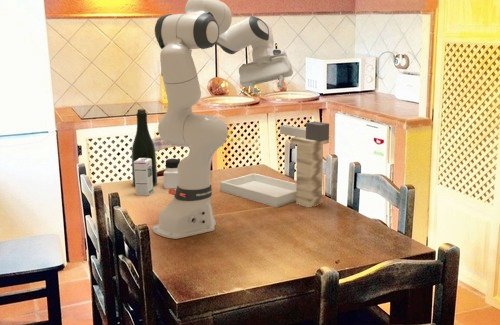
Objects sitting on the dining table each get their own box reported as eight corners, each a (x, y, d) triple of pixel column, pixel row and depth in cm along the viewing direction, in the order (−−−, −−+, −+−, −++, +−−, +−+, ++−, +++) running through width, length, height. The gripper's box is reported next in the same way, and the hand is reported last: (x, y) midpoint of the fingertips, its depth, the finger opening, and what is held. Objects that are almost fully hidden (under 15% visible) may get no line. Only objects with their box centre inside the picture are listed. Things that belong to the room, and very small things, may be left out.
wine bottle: (158, 186, 260) (155, 110, 253) (134, 188, 258) (129, 111, 250) (155, 180, 270) (152, 107, 263) (132, 182, 268) (127, 108, 260)
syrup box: (148, 195, 248) (147, 161, 244) (135, 195, 249) (133, 160, 245) (153, 192, 253) (152, 158, 250) (140, 191, 254) (138, 157, 251)
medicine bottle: (180, 188, 258) (179, 161, 255) (164, 188, 258) (162, 161, 255) (183, 184, 265) (182, 157, 262) (166, 184, 265) (165, 157, 262)
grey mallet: (320, 141, 222) (320, 125, 221) (278, 134, 237) (278, 118, 236) (328, 139, 226) (329, 123, 224) (286, 132, 240) (287, 117, 239)
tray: (276, 207, 231) (276, 197, 230) (220, 191, 253) (220, 181, 252) (310, 196, 245) (310, 186, 244) (254, 181, 267) (254, 173, 266)
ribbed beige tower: (310, 209, 228) (311, 141, 222) (290, 204, 235) (291, 138, 229) (327, 203, 235) (328, 137, 229) (307, 198, 242) (308, 134, 236)
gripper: (235, 61, 232) (238, 92, 226) (287, 48, 227) (291, 79, 221) (240, 70, 237) (243, 100, 232) (291, 57, 232) (295, 88, 227)
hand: (267, 90), depth 226 cm, fingers open, 8 cm apart
